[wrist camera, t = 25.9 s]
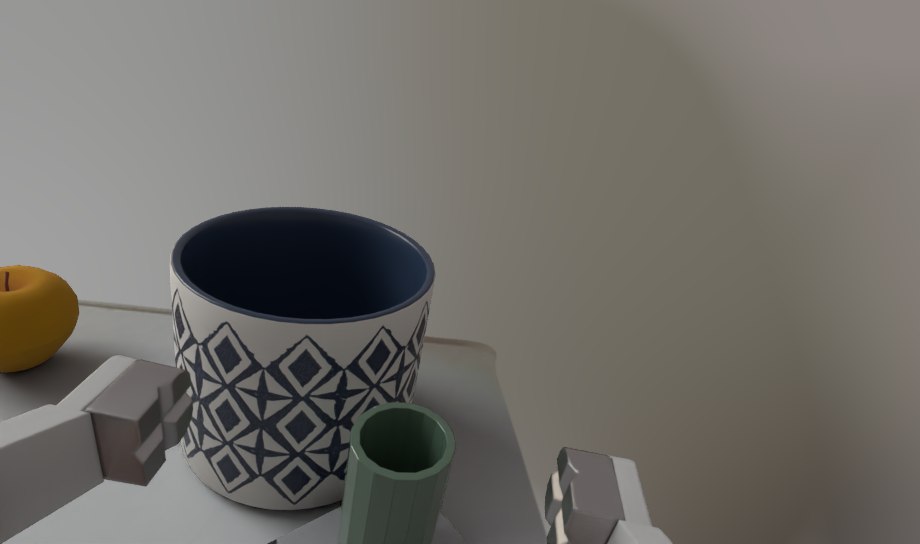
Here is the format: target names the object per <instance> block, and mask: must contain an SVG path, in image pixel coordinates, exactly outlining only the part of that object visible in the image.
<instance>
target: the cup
mask: <svg viewBox="0 0 920 544" xmlns="http://www.w3.org/2000/svg"><path fill="white" fill-rule="evenodd" d="M455 449H456V445H455V439H454V434H453V431H452V430H451V428H450V427H449V426H448V424H447V423H446V422H445V420H444V419H443V418H442V417H440V416H439V415H437V414H436V413H434V412H433V411H431V410H430V409H428V408H425V407H422V406H419V405H416V404H412V403H401V402H392V403H391V402H390V403H386V404H382V405H378V406H374V407H372V408H371V409H369V410H368V411H366V412H365V413H363V414H362V415H360V416H359V417H358V419H357V421H356V422H355V424H354V425H353V427H352V429H351V433H350V441H349V449H348V457H347V465H346V473H345V482H344V490H343V498H342V506H341V514H340V522H339V530H338V538H337V544H432V543H433V539H434V535H435V531H436V527H437V523H438V519H439V515H440V510H441V506H442V502H443V498H444V494H445V490H446V486H447V482H448V478H449V474H450V470H451V466H452V461H453V457H454V453H455Z"/></svg>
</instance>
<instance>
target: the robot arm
mask: <svg viewBox="0 0 920 544" xmlns="http://www.w3.org/2000/svg"><path fill="white" fill-rule="evenodd" d="M191 385H192V384H191V376H190V372H188V371H186V370H184V369H179V368H175V367H171V366H166V365H162V364H158V363H153V362H149V361H145V360H138V359H134V358H129V357H125V356H121V355H116V356H113V357H110V358H109V359H108V360H107V361H105V362H104V363H103V364H102V365H101V366H100V367H99V368H98V369H96V370H95V371H94V372H93V373H92V374H91V375H90V376H89V377H87V378H86V379H85V380H84V381H83V382H82V383H81V384H80V385H78V386H77V387H76V388H75V389H74V390H73V391H72V392H71V393H70V394H68V395H67V396H66V397H65V398H64V399H63V400H62V401H61V402H59V403H58V404H57V405H50V404H48V405H45V406H42V407H40V408H37V409H34V410H31V411H29V412H26V413H23V414H21V415H18V416H15V417H13V418H10V419H7V420H4V421H2V422H0V544H1V543H3V542H5V541H6V540H8V539H10V538H11V537H13V536H15V535H16V534H18V533H20V532H21V531H23V530H25V529H26V528H28V527H30V526H31V525H33V524H34V523H36V522H38V521H39V520H41V519H43V518H44V517H46V516H48V515H49V514H51V513H53V512H54V511H56V510H58V509H59V508H61V507H63V506H64V505H66V504H67V503H69V502H71V501H72V500H74V499H76V498H77V497H79V496H81V495H82V494H84V493H86V492H87V491H89V490H91V489H92V488H94V487H96V486H97V485H99V484H101V483H102V482H103V481H104V479H106V480H112V481H118V482H123V483H129V484H135V485H141V486H147V485H148V483H149V482H150V481H151V479H152V478H153V477H154V475H155V474H156V473H157V471H158V470H159V469H160V467H161V466H162V465H163V463H164V462H165V461H166V458H165V450H167V449H169V448H171V447H173V446H175V445H177V444H178V443H179V442H180V441H181V439H182V438H183V436H184V435H185V434H186V432H187V429H188V427H189V424H190V422H191V420H192V414H193V400H192V399H191V398H190V396H189V395H188V394H187V393H186V391H187V390H188V388H189V387H190V386H191ZM557 464H558V470H557V471H555V472H553V473H552V474H551V476H550V479H549V482H548V486H547V491H546V497H545V518H546V520H547V521H548V523H549V524H550V525H551V528H550V531H549V533H548V536H547V544H673V543H672V542H671V541H670V539H669V538H668V537H667V536H666V535H665V534H664V533H663V532H662V530H661V529H660V528H656V527H653V526H652V523H651V519H650V515H649V511H648V508H647V504H646V501H645V497H644V493H643V490H642V486H641V482H640V478H639V475H638V471H637V467H636V464H635V463H634V461H633V460H630V459H625V458H619V457H614V456H607V455H603V454H598V453H593V452H587V451H583V450H577V449H572V448H567V447H563V448H562V450H561V451H560V453H559V456H558V458H557Z"/></svg>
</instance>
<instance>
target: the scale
mask: <svg viewBox="0 0 920 544" xmlns="http://www.w3.org/2000/svg"><path fill="white" fill-rule="evenodd" d="M340 514H341V506H340V507H338V508H336V509H334V510H332V511H330V512H328V513H326V514H324V515H322V516H320V517H318V518H317V519H315V520H313V521H311V522H309V523H307V524H305V525H303V526H301V527H299V528H297V529H295V530H293V531H291V532H289V533H287V534H285V535H283V536H281V537H279V538H277V539H276V540H274V541H272V542H270V543H268V544H337V538H338V530H339V522H340ZM432 544H468V543H467V542H466V541H465V540H464V538H463V537H462V536H461V535H460V534H459V532H458V531H457V530H456V529H455V528H454V527H453V525H452V524H451V523H450V522H449V521H448V519H447V518H446V517H445V516H444V515H443V513H442V512H441V511H440V515H439V519H438V523H437V527H436V531H435V535H434V539H433V543H432Z"/></svg>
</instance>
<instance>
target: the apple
mask: <svg viewBox="0 0 920 544" xmlns="http://www.w3.org/2000/svg"><path fill="white" fill-rule="evenodd" d="M78 316H79V307H78V299H77V296H76V294H75V293H74V291H73V290H72V288H71V287H70V286H69V285H68V283H67V282H66V281H65V280H63V279H62V278H61V277H59V276H58V275H56V274H54V273H51V272H48V271H45V270H43V269H40V268H36V267H29V266H21V265H18V266H7V267H0V372H17V371H22V370H26V369H30V368H32V367H35V366H37V365H40V364H41V363H43V362H45V361H47V360H48V359H49V358H50V357H51V356H53V355H54V354H55V353H56V352H57V351H58V350H59V349H60V347H61V346H62V345H63V344H64V343H65V341H66V340H67V339H68V338H69V337H70V335H71V334H72V332H73V330H74V328H75V326H76V323H77V319H78Z"/></svg>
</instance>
